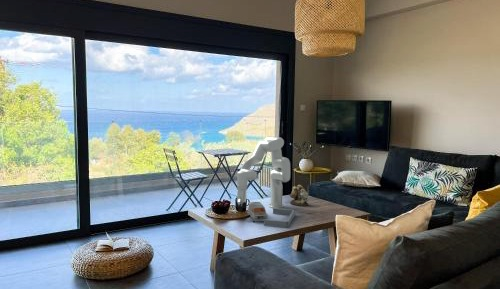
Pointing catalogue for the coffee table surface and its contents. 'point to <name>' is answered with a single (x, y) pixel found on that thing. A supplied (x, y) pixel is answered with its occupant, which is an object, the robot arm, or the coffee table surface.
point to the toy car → (257, 211)
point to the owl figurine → (299, 196)
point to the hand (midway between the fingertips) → (242, 209)
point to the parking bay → (280, 223)
